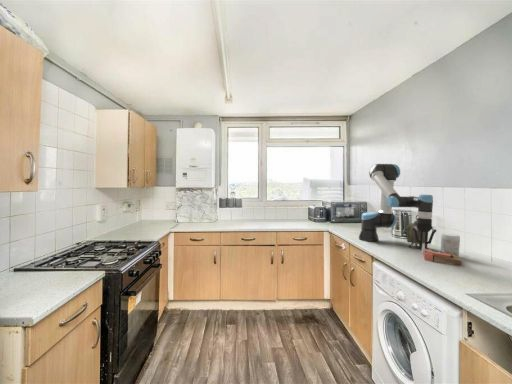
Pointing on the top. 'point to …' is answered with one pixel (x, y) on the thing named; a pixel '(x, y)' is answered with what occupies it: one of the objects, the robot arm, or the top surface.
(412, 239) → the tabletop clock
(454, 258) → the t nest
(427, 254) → the t block
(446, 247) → the supplement tub
